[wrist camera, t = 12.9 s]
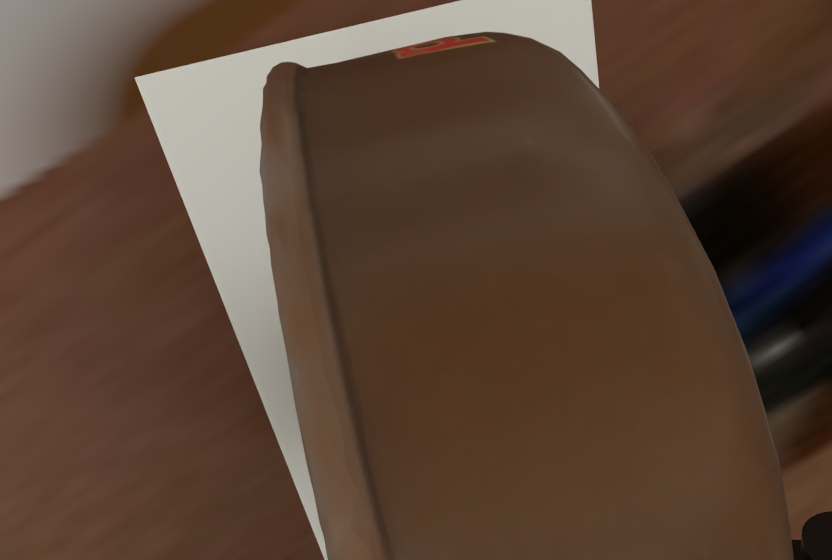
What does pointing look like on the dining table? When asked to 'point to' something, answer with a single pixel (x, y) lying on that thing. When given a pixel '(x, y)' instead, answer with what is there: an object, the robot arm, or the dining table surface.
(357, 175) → the tin
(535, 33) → the cream board
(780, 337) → the dining table surface
